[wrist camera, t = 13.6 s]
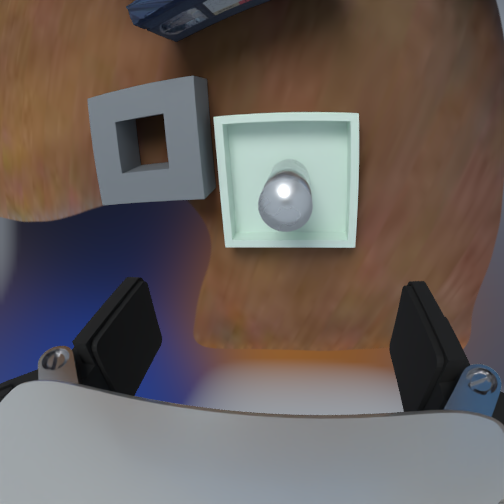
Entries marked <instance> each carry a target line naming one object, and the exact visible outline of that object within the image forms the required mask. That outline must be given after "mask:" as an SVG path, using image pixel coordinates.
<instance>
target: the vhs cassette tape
mask: <svg viewBox="0 0 504 504" xmlns="http://www.w3.org/2000/svg"><path fill="white" fill-rule="evenodd" d="M268 1H270V0H135V1H134V2H133V3H131V4H130V5H128V6H126V8H127V9H128V11H129V15H130V18H131V20H132V22H133V24H134V25H136V26H138V27H140V28H143V29H147V30H148V31H151V32H153V33H155V34H157V35H160V36H163V37H165V38H167V39H170V40H173V41H175V42H177V41H179V40H181V39H183V38H185V37H187V36H189V35H191V34H193V33H195V32H197V31H199V30H202V29H204V28H206V27H208V26H210V25H212V24H214V23H216V22H219V21H221V20H223V19H225V18H228V17H230V16H232V15H234V14H237V13H239V12H242V11H244V10H247V9H249V8H251V7H254V6H257V5H259V4H262V3H265V2H268Z"/></svg>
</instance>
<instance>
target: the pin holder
mask: <svg viewBox="0 0 504 504" xmlns="http://www.w3.org/2000/svg"><path fill="white" fill-rule="evenodd" d="M88 109H89V119H90V128H91V136H92V144H93V151H94V158H95V164H96V171H97V177H98V182H99V188H100V193H101V199H102V204H103V205H112V204H125V203H138V202H154V201H172V200H193V199H205V198H206V197H207V196H208V195H209V194H210V193H211V192H212V191H213V190H214V189H215V188H216V183H215V172H214V162H213V150H212V139H211V127H210V115H209V102H208V89H207V79H204V78H201V77H197V76H187V77H181V78H175V79H169V80H164V81H159V82H154V83H149V84H144V85H139V86H135V87H130V88H126V89H122V90H118V91H114V92H110V93H106V94H103V95H99V96H96V97H92V98H89V99H88ZM162 114H164V124H165V134H166V143H167V152H168V161H169V162H165V163H156V164H147V165H141V162H140V154H139V146H138V138H137V129H136V119H139V118H144V117H150V116H156V115H162Z"/></svg>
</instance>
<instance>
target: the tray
mask: <svg viewBox="0 0 504 504" xmlns="http://www.w3.org/2000/svg"><path fill="white" fill-rule="evenodd" d="M214 129H215V141H216V153H217V164H218V176H219V186H220V197H221V207H222V218H223V228H224V237H225V247H319V248H355V241H356V226H357V208H358V182H359V113H342V112H280V113H256V114H240V115H227V116H217V117H214ZM285 159H294V160H297V161H299V162H301V163H302V164H303V165H304V166H305V167H306V169H307V171H308V174H309V180H310V188H311V195H312V203H313V210H312V214H311V216H310V218H309V220H308V221H307V223H306V224H305V225H304V226H302V227H301V228H299V229H297V230H294V231H290V232H282V231H278V230H275V229H273V228H271V227H269V226H268V225H267V224H266V223H265V222H264V221H263V220H262V218H261V216H260V214H259V210H258V200H259V197H260V194H261V192H262V190H263V188H264V186H265V183H266V181H267V179H268V177H269V175H270V173H271V170H272V168H273V167H274V166H275V165H276V164H277V163H278V162H280V161H282V160H285Z"/></svg>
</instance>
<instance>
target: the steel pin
mask: <svg viewBox="0 0 504 504" xmlns="http://www.w3.org/2000/svg"><path fill="white" fill-rule="evenodd" d="M258 210H259V214H260V216H261V218H262V220H263V221H264V222H265V223H266V224H267V225H268V226H269V227H271V228H273V229H275V230H278V231H282V232H290V231H294V230H297V229H299V228H301V227H302V226H304V225H305V224H306V223H307V221H308V220H309V218H310V216H311V214H312V210H313V203H312V195H311V188H310V180H309V174H308V171H307V169H306V167H305V166H304V165H303V164H302V163H301V162H299V161H297V160H294V159H285V160H282V161H280V162H278V163H277V164H276V165H275V166H274V167H273V168H272V170H271V173H270V175H269V177H268V179H267V181H266V183H265V186H264V188H263V190H262V192H261V194H260V197H259V200H258Z"/></svg>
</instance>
